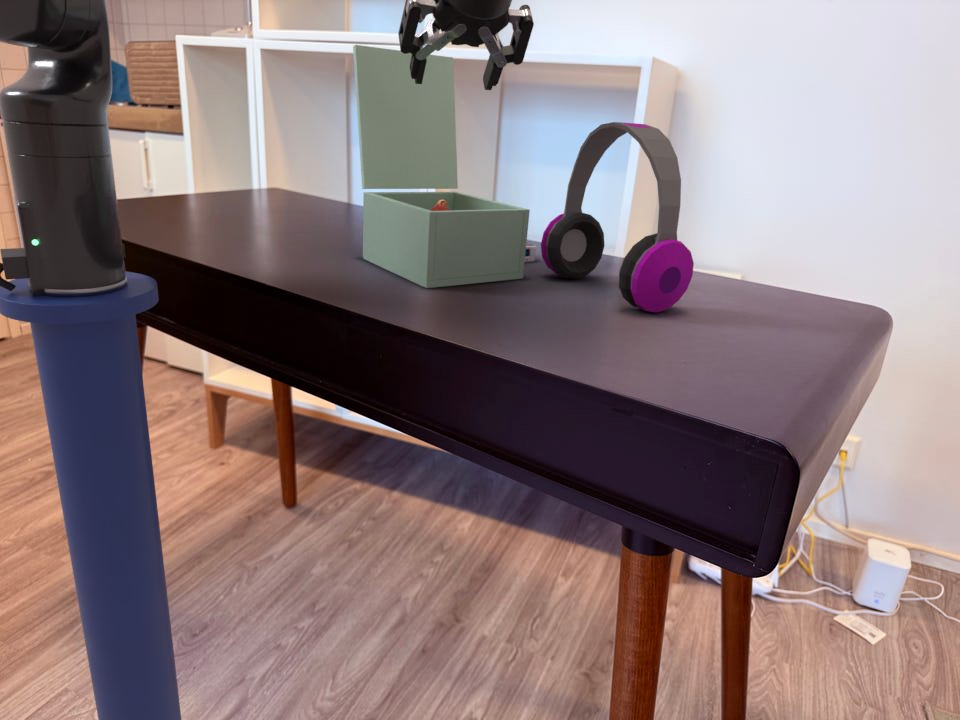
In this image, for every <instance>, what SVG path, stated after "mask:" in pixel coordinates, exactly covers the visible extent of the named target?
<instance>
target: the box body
mask: <svg viewBox="0 0 960 720" xmlns="http://www.w3.org/2000/svg"><path fill="white" fill-rule="evenodd" d="M362 194H363V195H362V196H363V197H362V198H363V199H362V201H363V204H362V205H363V209H362V259H363V260H365V261H367V262H369V263H372V264H374V265H375V266H378V267H379V268H382V269H384V270H386V271H388V272H390V273H393V274H395V275H397V276H399V277H401V278H404V279H405V280H407V281H410V282H412V283H413V284H416V285H419V286H421V287H423V288H425V289H433V288H434V289H435V288H442V287H452V286H453V287H454V286H462V285H472V284H473V285H474V284H481V283H482V284H483V283H493V282H502V281H512V280H521V279H522V280H523V279H524V274H525V272H524V271H525V263H526V262H525V253H526V243H528V242H527V241H528V231H529V221H530V212H531V211H530V209H529V208H524V207H521V206H516V205H512V204H507V203H504V202H499V201H496V200H491V199H488V198H484V197H480V196H475V195H471V194H467V193H463V192H459V191H377V192H376V191H373V192H371V191H368V192H367V191H364V192H363V193H362ZM439 200H445V201H446V202H447V204H446V206H447V208H448V209H449V210H451V211H431V210H430V209H432V208H433V207H435V205H436V204H437V203H438V202H439Z"/></svg>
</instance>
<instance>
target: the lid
mask: <svg viewBox="0 0 960 720" xmlns="http://www.w3.org/2000/svg"><path fill="white" fill-rule="evenodd" d="M352 54H353V66H354V67H353V68H354V82H355V83H354V84H355V85H354V86H355V99H356V101H355V102H356V113H357V114H356V115H357V128H358V146H359V160H360V161H359V162H360V175H361V189H362V190H430V189H431V190H440V189H441V190H442V189H443V190H447V189H448V190H451V189H453V190H454V189H455V190H457V189H459V185H458V182H459V181H458V158H457V155H458V154H457V153H458V152H457V128H456V101H455V74H454V73H455V72H454V57H452V56H446V55H445V56H444V55H437V54H430V55H429V56H427V57H426V59H427V62H426V67H425V71H424V76H423V81H422V84H415V79H412V78H411V73H410V61H411V56H412V54H411V53H408V54H404V53H402V52H401V50H398V49H391V48H384V47H376V46H368V45H360V44H354V45H352Z"/></svg>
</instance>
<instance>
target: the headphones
mask: <svg viewBox="0 0 960 720" xmlns="http://www.w3.org/2000/svg"><path fill="white" fill-rule="evenodd" d="M627 133H628V134H629V136H631V138H633V139H634V140H635V141H636V142H637V143H638V144H639V146H640V147H641V149H642V150H643V153H644V154H645V155H646V158H647V159H648V161H649V164H650V166H651V169H652V171H653V172H652V173H653V174H654V177H655V179H656V183H657V185H656V186H657V198H658V217H657V232H656V233H653V234H649V235H645V236H644V237H643V238H642V239H640V240H639V241H637V242H636V243H635V244H633V246H632V247H631V248H630V249H629V251H628V252H627V254H626V255H625V256H624V258H623V261H622V264H621V266H620V269H619V272H618V273H619V275H618V276H619V277H618V278H619V279H618V287H619V291H620V293H621V296H622V298H623V299H624V301H626V302H627V303H628V304H630V305H631V306H632V307H635V308H640V309H641V311H644V312H651V313H660V312H663V311H666V310H669V309H670V308H671V307H673V306H674V305H675V304H677V303H678V302H679V301H680V300H681V298H682V297H683V296H684V294H685V293H686V292H687V291H688V288H689V286H690V283H691V282H692V279H693V274H694V265H695V263H694V259H693V255H692V251H691V250H690V249H689V248H688V247H687V246H686V245H685V244H684V243H683V241H680V240H678V228H679V227H678V226H679V219H680V212H681V211H680V210H681V200H682V199H681V197H682V196H681V194H682V177H681V171H680V166H679V165H680V164H679V160H678V156H677V153H676V151H675V149H674V147H673V145H672V142H671V140H670V139H669V138H668V137H667V136H666V135H665V134H664V132H663V131H661V130H660V128H659V127H655V126H651V125H649V124H646V123H636V122H635V123H633V122H623V121H622V122H619V121H612V122H608V123H607V122H606V123H602V124H600V125H598V126H597V127H596V128H594V129H593V130H592V131H591V132H589V134H588V135H587V137H586V138H585V140H584V142H583V143H582V145H581V146H580V148H579V150H578V153H577V157H576V159H575V162H574V165H573V168H572V171H571V174H570V177H569V181H568V184H567V190H566V197H565V203H564V209H563V213H561V214H559V215H557V216H555V217H554V218H553V219H552V220H551V221H549V223H548V224H547V226H546V228H545V229H544V231H543V233H542V238H541V242H540V251H541V258H542V260H543V262H544V263H545V266H546V267H547V268H548V269H549V270H551V272H553V273H554V274H555V275H559V276H560V277H562V278H565V279H570V280H577V279H583V278H584V277H587V276H588V275H589V274H591V273H592V272H593V271H594V270H595V269H596V268H597V266H598V264H599V263H600V262H601V260H602V259H603V258H602V257H603V253H604V249H605V232H604V230H603V228H602V226H601V223H600V222H599V221H598V220H597V219H596V218H595V217H594V216H593V215H592V214H590V213H585V212H583V210H582V207H583V202H584V199H585V193H586V189H587V185H588V184H589V181H590V179H591V177H592V174H593V172H594V170H595V168H596V167H597V165H598V163H599V162H600V161H601V159H602V157H603V156H604V154H605V153H606V151H607V150H608V149H609V148H610V147H611V146H612V145H613V144H614V143H615V142H616V141H617V139H619V138H620V137H622V136H624V135H625V134H627Z"/></svg>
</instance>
